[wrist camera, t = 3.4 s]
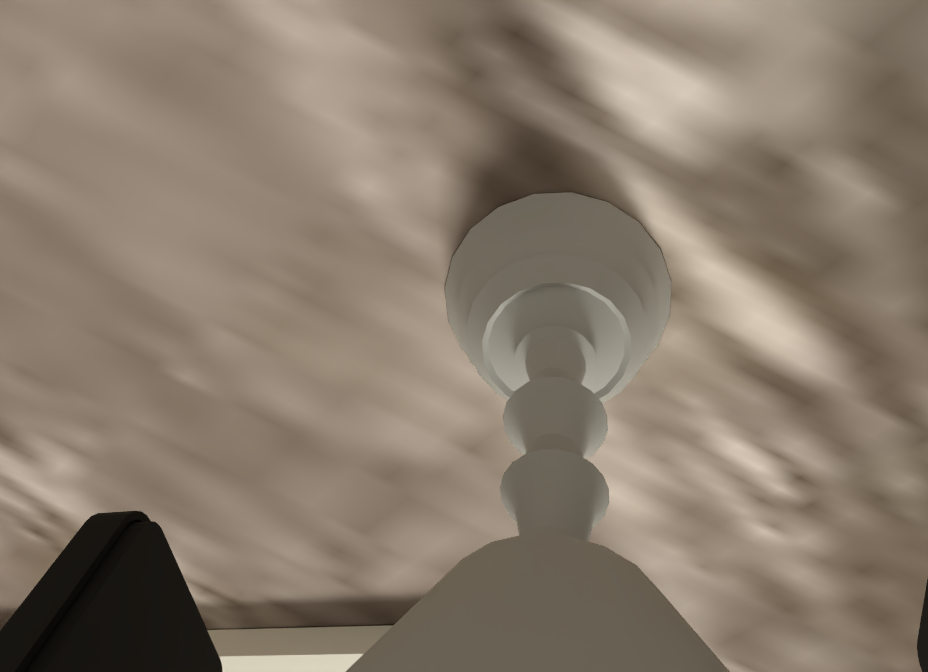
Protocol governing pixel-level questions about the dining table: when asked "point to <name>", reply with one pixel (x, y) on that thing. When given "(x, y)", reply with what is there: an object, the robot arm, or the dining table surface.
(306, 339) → the dining table surface
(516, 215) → the chalice
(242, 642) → the seat board
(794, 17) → the dining table surface
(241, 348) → the dining table surface
